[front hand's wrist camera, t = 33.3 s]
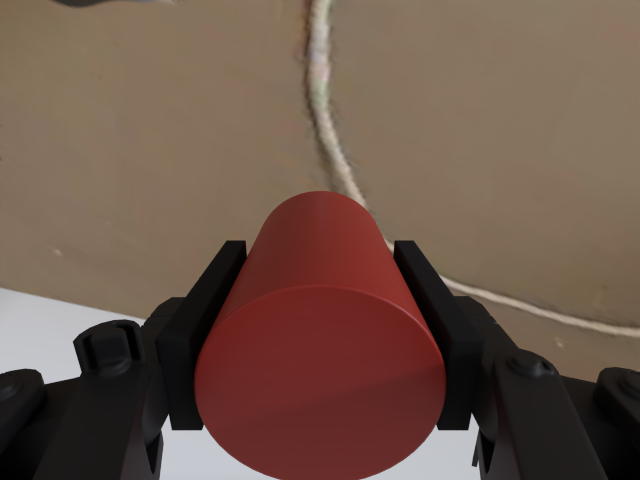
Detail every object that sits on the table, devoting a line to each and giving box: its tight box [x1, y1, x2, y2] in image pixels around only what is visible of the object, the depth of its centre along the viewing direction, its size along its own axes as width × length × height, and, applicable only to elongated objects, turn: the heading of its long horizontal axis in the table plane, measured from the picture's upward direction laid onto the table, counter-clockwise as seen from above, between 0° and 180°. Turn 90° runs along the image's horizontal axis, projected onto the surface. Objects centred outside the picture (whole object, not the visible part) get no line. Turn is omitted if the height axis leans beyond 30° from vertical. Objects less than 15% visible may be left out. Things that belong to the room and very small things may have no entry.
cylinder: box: [194, 191, 447, 480], centre depth 13 cm, size 6×6×9 cm
